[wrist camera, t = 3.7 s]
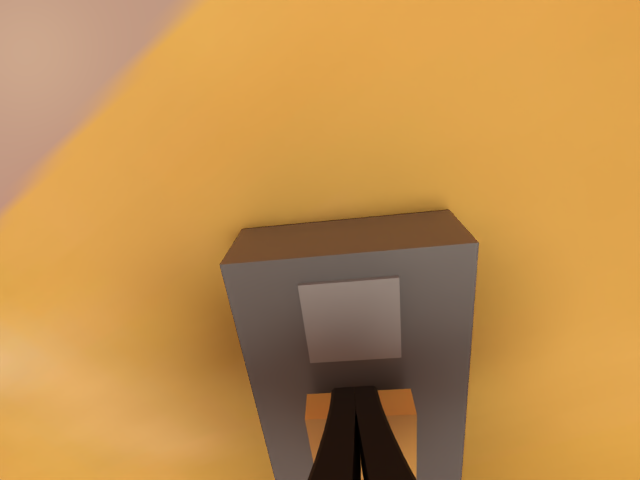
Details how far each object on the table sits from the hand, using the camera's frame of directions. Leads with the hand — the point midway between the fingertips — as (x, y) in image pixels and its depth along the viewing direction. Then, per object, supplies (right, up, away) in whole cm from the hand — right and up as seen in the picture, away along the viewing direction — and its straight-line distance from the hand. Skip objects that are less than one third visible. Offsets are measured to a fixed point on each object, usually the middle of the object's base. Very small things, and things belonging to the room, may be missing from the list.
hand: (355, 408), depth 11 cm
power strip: (+1, -3, +6) cm, 7 cm away
